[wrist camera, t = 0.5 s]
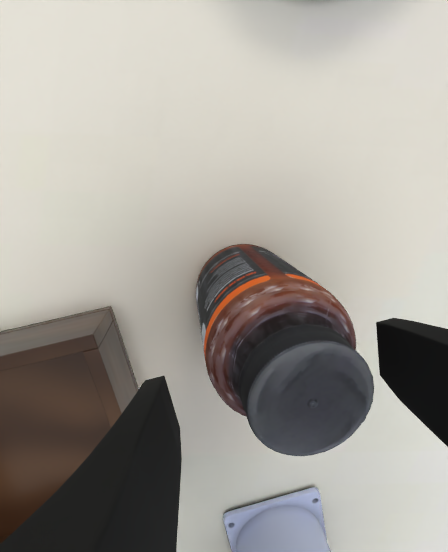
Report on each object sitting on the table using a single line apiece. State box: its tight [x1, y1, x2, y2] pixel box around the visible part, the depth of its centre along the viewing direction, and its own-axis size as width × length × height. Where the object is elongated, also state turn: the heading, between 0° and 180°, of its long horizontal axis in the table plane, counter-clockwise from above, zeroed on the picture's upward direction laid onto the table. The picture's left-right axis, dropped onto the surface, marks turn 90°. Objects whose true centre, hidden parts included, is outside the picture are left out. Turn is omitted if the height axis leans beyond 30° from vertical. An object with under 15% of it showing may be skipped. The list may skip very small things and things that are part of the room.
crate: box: [0, 306, 139, 544], centre depth 19 cm, size 16×14×4 cm
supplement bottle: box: [196, 244, 374, 456], centre depth 14 cm, size 6×6×11 cm
